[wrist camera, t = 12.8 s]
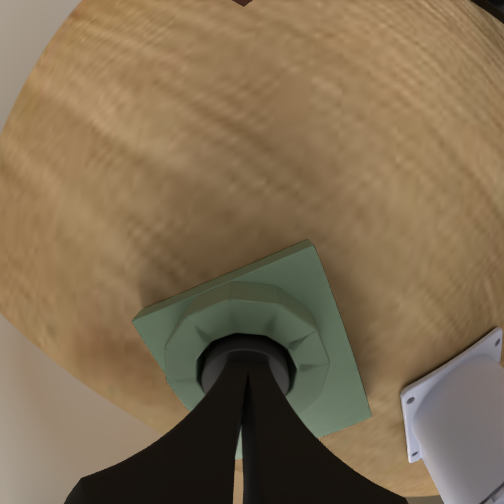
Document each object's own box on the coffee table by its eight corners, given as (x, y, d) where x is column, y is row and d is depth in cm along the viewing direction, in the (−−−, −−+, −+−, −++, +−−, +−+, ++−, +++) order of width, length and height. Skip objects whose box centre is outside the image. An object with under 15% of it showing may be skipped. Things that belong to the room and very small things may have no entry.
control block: (366, 403, 13) (382, 439, 10) (235, 445, 14) (232, 484, 11) (308, 238, 11) (325, 256, 8) (140, 309, 12) (113, 341, 9)
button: (295, 372, 11) (301, 399, 9) (229, 394, 11) (225, 422, 9) (267, 312, 10) (269, 336, 9) (194, 339, 11) (185, 365, 9)
